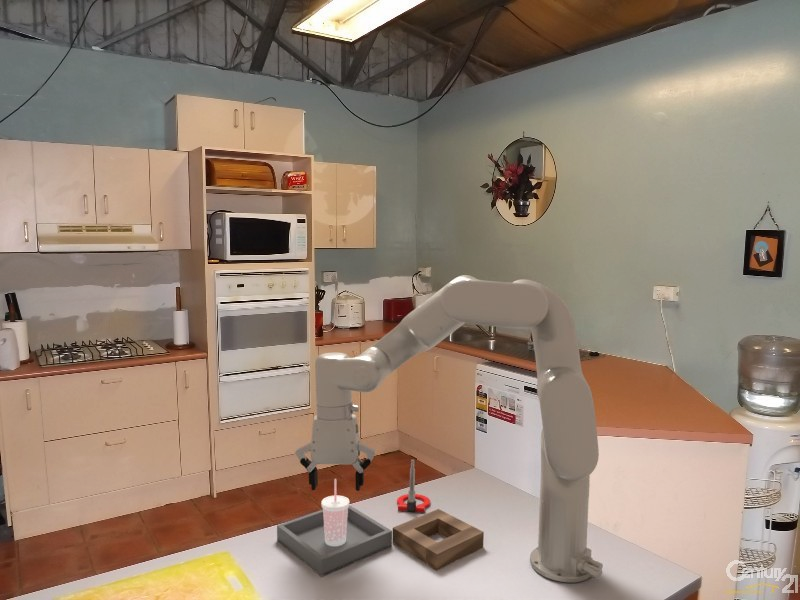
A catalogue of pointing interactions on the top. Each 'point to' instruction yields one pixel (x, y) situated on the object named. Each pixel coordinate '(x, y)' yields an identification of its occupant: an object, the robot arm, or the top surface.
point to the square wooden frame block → (444, 552)
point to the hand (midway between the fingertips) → (336, 487)
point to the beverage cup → (335, 518)
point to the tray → (323, 559)
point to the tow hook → (412, 497)
